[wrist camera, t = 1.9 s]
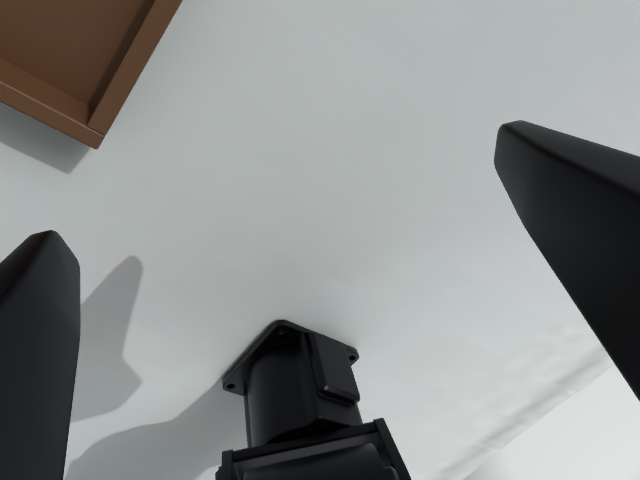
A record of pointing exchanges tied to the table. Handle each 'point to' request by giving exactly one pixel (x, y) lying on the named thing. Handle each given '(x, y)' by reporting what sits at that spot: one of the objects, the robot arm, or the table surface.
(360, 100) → the table surface
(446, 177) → the table surface
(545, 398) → the table surface
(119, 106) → the tray
